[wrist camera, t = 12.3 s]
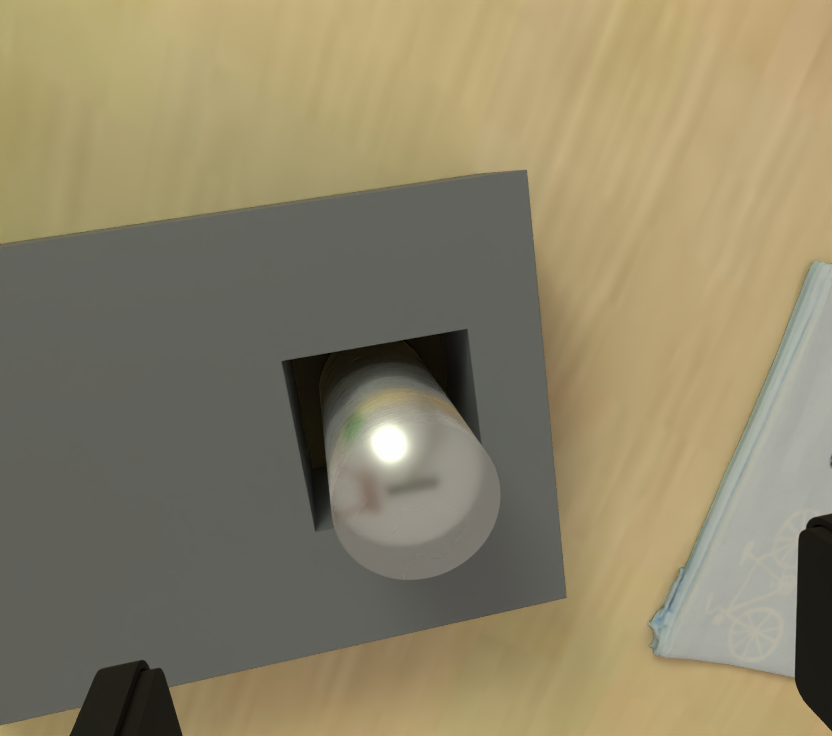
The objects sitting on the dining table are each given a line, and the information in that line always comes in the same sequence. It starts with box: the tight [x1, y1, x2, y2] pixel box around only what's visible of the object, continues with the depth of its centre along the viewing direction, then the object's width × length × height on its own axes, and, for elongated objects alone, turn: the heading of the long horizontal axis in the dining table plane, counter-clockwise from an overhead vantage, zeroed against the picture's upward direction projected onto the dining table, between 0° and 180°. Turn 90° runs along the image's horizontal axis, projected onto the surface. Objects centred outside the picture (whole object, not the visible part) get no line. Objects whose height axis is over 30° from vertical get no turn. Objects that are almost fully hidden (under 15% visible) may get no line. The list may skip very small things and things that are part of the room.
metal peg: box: [319, 340, 501, 580], centre depth 21 cm, size 4×4×10 cm
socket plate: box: [0, 170, 566, 725], centre depth 23 cm, size 22×14×5 cm, turn 98°
